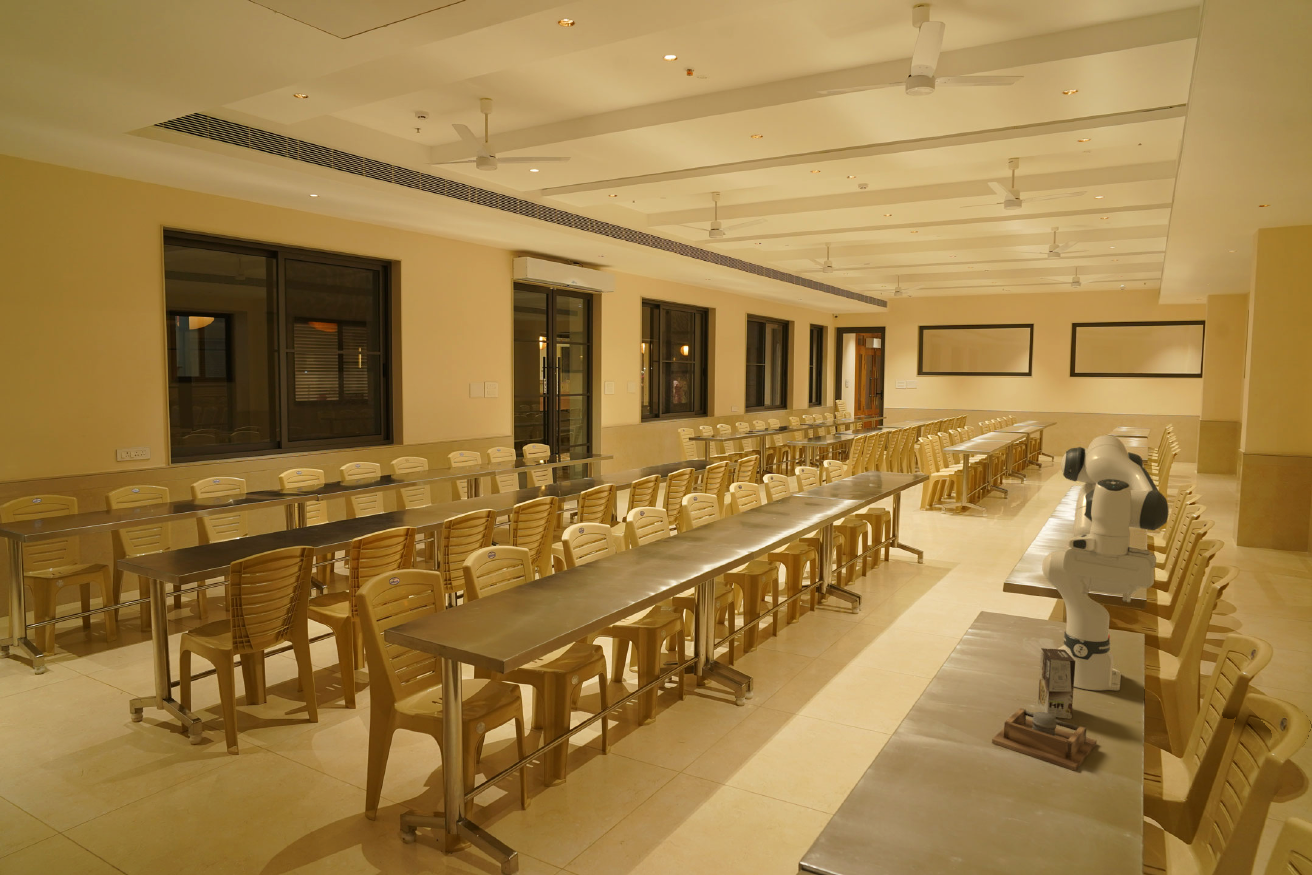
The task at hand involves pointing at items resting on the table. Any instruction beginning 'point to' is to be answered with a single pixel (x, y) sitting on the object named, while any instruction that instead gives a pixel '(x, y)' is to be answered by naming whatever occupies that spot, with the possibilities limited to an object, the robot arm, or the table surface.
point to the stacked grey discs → (1044, 723)
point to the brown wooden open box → (1045, 741)
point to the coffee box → (1056, 682)
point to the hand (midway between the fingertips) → (1105, 596)
